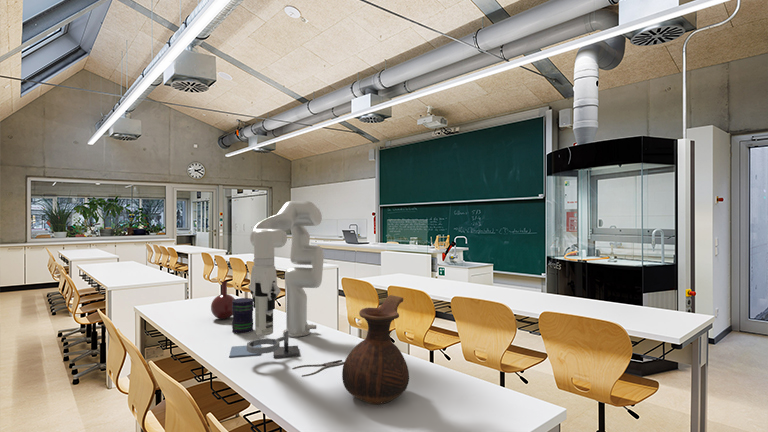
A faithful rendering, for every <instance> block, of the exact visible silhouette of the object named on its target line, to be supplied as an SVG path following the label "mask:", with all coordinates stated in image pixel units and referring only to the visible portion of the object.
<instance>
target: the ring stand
mask: <svg viewBox="0 0 768 432" xmlns="http://www.w3.org/2000/svg"><path fill="white" fill-rule="evenodd" d="M283 331H284V330H283ZM281 342H283V346H280V343H281ZM256 345H261V348H259V347H253V346H256ZM262 345H270V346H264V347H263V346H262ZM246 346H247V351H248V352H250V353H255V354H261V355H263V354H269V353H273V359H279V358H280V359H281V358H293V357H300V349H299V345H289V331H284V335H282V336H281V337H278V338H257V339H253V340H251V341H248V342H247V343H246Z"/></svg>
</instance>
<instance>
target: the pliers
mask: <svg viewBox="0 0 768 432" xmlns="http://www.w3.org/2000/svg"><path fill="white" fill-rule="evenodd" d="M344 362H345V361H343V360H342V359H339V360H333V361H332V360H331V361H328V362H324V363H321V364H319V363H318V364H304V365H302V364H301V365H299V366H295V367H292V370H296V369H299V368H306V367H308V368H309V367H321V368H319V369H318V370H316V371H314V372H311V373H308V374H302V375H301V377H308V376H312V375H316V374H317V373H320V372H322V371H323V370H325V369H327V368H331V367H332V368H333V367H338V366H342V365H344Z"/></svg>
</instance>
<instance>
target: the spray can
mask: <svg viewBox="0 0 768 432" xmlns="http://www.w3.org/2000/svg"><path fill="white" fill-rule="evenodd" d="M260 285H261V283H255V308H254V314H255V315H254V323H255V324H254V327H255V330H254V331H255V335H256V336H261V337H262V336H263V337H264V336H270V335H272V334H273V333H274V310H270V311H268V300H269V298H268V295H267V294H266V293H262V290H261V286H260ZM271 291H272V290H271ZM271 296H272V293H271Z"/></svg>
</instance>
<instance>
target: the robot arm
mask: <svg viewBox="0 0 768 432" xmlns="http://www.w3.org/2000/svg"><path fill="white" fill-rule="evenodd" d="M322 217H323V216H322V212H321V210H320V208H319V207H318V206H317V205H315V204H314V203H313V202H311V201H309V200H290V201H286V202H285V203H284V204H283V205H282V207H281V208H280V209H279V211H278V212H277V214H274V215H272V216H269V217H267V218H265V219H263V220H261V221H259V222H258V223H257V224H256V225H255V226H254V228H253V229H252V230H251V233H250V236H249V240H250V243H251V245H252V246H253V265H252V267H251V273H250V283H249V285H248V290H249V291H250V293H251V296H252V299H253V309H255V283H261V285H260V286H261V290H262V293H266V294H267V295H268V298H269V300H268V311H270V310H273V311H274V310H275V308H276V299H277V297H278V296H279V294H280V293H281V292H282V290H281V288H280V287H279V286H278V278H277V269H276V266H275V249H276V248H277V249H278V248H282V247H284V246H285V245H286V244H287V242H288V241H287V240H288V234H287V232H286V231H289V230H290V232H291V245H290V246H291V247H290V255H289V256H290V257H289V258H290V262H291V264H293V265H300V267H299V266H295V267H294V266H293V267H290V268H287V270H286V271H285V273H284V281H285V282H284V283H285V289H286V290H285V291H286V319H285V320H286V323H285V325H286V328H285V329H284V330H283V331H282V336H284V331H289V337H290V338H300V337H304V336H308V335H309V334H310V333H311V330H317V328H318V327H317V324H313V323H312V324H309V323H308V320H307V319H308V318H307V317H308V314H307V313H308V309H307V308H308V306H307V305H308V303H307V302H308V296H307V292H306V291H305V290H304V289H306V288H307V289H317V288H320V286H321V285H322V281H323V270H324V261H325V260H324V257H325V256H324V254H325V253H324V250H323V248H322V247H321V246H320V245H315V244H314V245H312V244H311V245H310V241H311V240H310V239H311V238H310V236H311V235H310V232H309V231H308V230H307V228H306V227H316V226H319V225H320V224H321V222H322ZM301 265H302V266H311V267H301ZM271 290H272V291H271ZM271 293H272V296H271Z"/></svg>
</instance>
